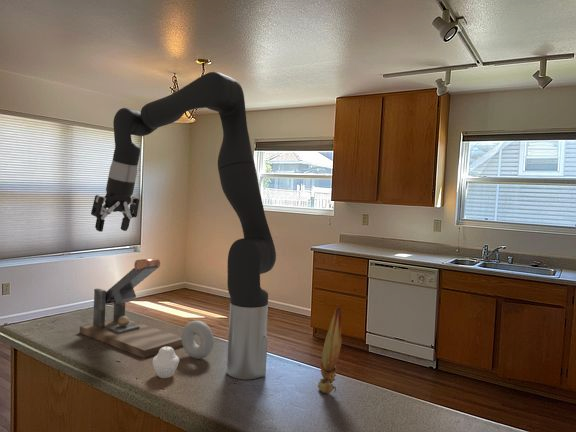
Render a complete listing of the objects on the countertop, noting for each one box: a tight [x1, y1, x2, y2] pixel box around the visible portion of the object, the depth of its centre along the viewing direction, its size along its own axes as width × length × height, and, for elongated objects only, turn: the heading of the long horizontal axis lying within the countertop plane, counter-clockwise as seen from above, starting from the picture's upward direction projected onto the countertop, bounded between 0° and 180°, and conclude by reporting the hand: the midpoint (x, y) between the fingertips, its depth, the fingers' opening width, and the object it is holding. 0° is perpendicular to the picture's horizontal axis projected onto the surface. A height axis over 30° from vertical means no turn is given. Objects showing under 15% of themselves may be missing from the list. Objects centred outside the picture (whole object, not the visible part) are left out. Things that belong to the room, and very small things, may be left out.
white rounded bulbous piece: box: [152, 346, 180, 379], centre depth 106 cm, size 6×6×7 cm
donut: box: [181, 320, 215, 360], centre depth 118 cm, size 10×4×10 cm, turn 61°
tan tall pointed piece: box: [317, 306, 343, 394], centre depth 100 cm, size 7×5×20 cm
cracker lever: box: [105, 257, 161, 305], centre depth 131 cm, size 24×6×6 cm
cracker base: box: [79, 288, 183, 359], centre depth 130 cm, size 30×14×13 cm, turn 55°
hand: (111, 230), depth 134 cm, fingers open, 8 cm apart
